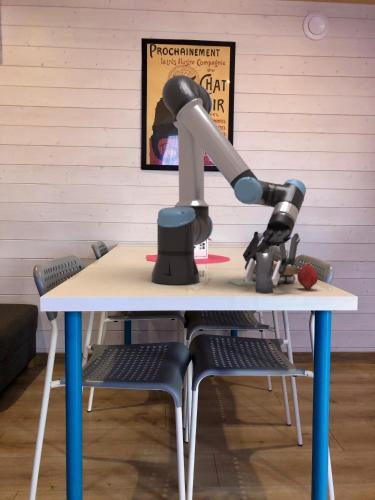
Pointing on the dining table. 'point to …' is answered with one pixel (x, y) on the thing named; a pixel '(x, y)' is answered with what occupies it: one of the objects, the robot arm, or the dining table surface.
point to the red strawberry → (307, 276)
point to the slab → (288, 270)
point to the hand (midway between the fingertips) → (259, 280)
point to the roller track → (281, 279)
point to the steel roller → (264, 272)
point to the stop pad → (242, 283)
